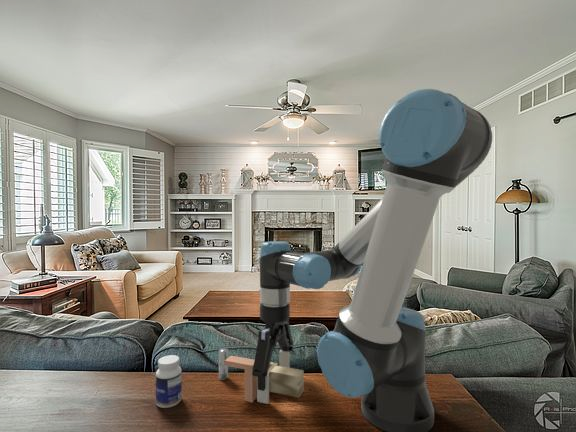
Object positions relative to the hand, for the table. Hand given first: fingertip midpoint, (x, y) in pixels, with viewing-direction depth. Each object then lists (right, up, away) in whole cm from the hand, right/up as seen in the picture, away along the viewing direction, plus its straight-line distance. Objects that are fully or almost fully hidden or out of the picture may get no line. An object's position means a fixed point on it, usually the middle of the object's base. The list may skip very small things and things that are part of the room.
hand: (274, 387), depth 81 cm
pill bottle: (-24, 0, -6) cm, 25 cm away
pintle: (-14, 0, +5) cm, 15 cm away
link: (0, 0, 0) cm, 0 cm away
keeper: (-8, 0, -4) cm, 9 cm away
